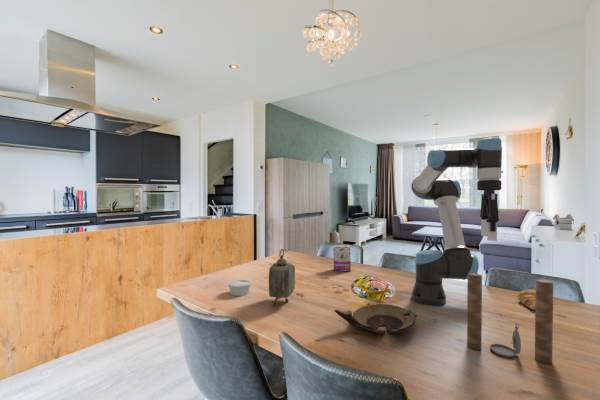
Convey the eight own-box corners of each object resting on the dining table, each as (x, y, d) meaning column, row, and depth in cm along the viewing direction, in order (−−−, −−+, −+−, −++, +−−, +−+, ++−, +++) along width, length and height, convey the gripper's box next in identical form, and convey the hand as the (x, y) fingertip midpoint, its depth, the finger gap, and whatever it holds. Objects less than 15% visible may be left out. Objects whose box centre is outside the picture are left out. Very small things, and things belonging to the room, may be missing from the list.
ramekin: (253, 289, 148) (253, 279, 148) (247, 297, 137) (247, 286, 137) (233, 289, 149) (233, 279, 149) (225, 296, 138) (225, 286, 138)
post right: (537, 362, 83) (538, 282, 82) (532, 355, 86) (533, 279, 86) (554, 365, 81) (555, 284, 81) (549, 358, 85) (550, 280, 84)
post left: (468, 348, 90) (468, 275, 90) (466, 342, 94) (466, 272, 93) (482, 351, 89) (483, 277, 88) (480, 345, 92) (480, 274, 92)
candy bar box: (350, 269, 187) (350, 245, 186) (350, 271, 182) (350, 246, 182) (333, 268, 189) (333, 245, 188) (333, 270, 184) (333, 246, 183)
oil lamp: (422, 347, 91) (423, 324, 91) (332, 335, 99) (332, 314, 99) (413, 318, 113) (413, 299, 113) (340, 310, 121) (340, 293, 121)
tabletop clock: (277, 295, 138) (277, 246, 138) (295, 297, 136) (295, 246, 136) (268, 307, 124) (268, 252, 124) (288, 309, 122) (288, 252, 122)
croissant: (543, 322, 117) (555, 307, 115) (516, 306, 122) (528, 292, 119) (536, 304, 134) (546, 291, 132) (513, 291, 139) (522, 278, 137)
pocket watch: (485, 347, 91) (485, 317, 91) (508, 345, 92) (509, 316, 92) (505, 362, 83) (505, 329, 83) (531, 360, 84) (531, 327, 84)
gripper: (510, 177, 92) (509, 243, 92) (493, 181, 113) (493, 234, 113) (483, 178, 95) (483, 242, 95) (472, 181, 116) (471, 233, 116)
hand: (488, 238), depth 104 cm, fingers open, 11 cm apart
